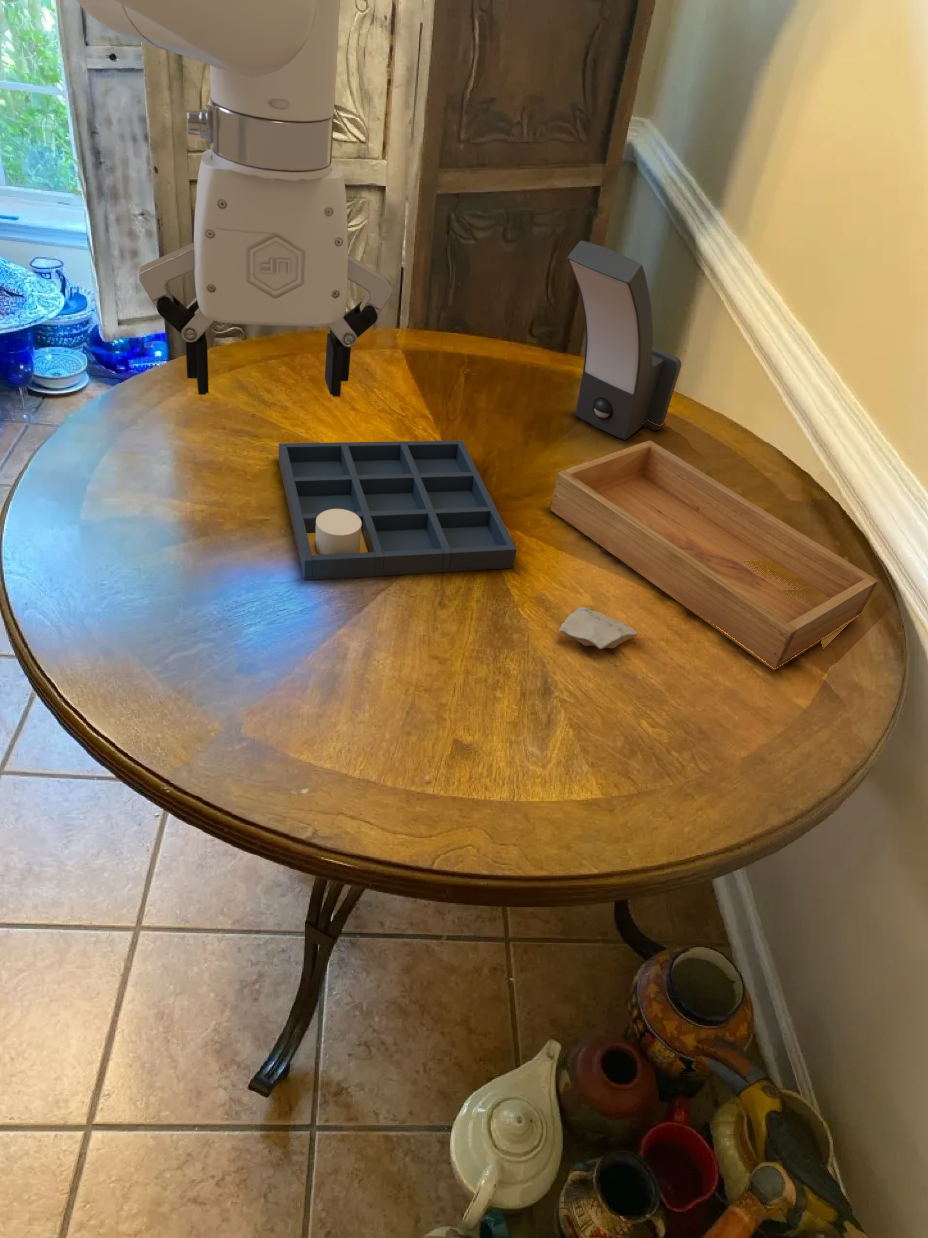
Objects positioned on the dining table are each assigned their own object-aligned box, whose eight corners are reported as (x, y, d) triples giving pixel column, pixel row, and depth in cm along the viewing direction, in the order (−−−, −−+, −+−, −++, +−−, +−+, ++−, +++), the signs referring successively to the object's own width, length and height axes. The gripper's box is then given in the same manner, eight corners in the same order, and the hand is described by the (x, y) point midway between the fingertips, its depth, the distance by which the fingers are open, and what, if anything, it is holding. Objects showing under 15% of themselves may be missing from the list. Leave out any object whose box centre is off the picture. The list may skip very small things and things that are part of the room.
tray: (548, 511, 102) (558, 468, 98) (638, 478, 110) (651, 436, 107) (769, 677, 86) (791, 633, 82) (855, 623, 94) (879, 580, 90)
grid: (304, 580, 87) (304, 560, 86) (278, 461, 102) (278, 443, 101) (513, 568, 93) (517, 549, 92) (459, 457, 108) (462, 439, 107)
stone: (581, 610, 90) (547, 639, 86) (586, 592, 88) (552, 620, 84) (636, 641, 87) (605, 671, 83) (642, 622, 86) (610, 652, 82)
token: (318, 564, 88) (319, 535, 86) (311, 537, 92) (312, 509, 89) (363, 562, 90) (365, 533, 88) (355, 535, 93) (357, 507, 91)
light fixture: (519, 435, 114) (558, 237, 99) (596, 396, 125) (642, 213, 110) (590, 472, 110) (643, 271, 94) (663, 429, 121) (721, 242, 105)
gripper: (128, 141, 53) (148, 410, 64) (418, 168, 58) (391, 412, 69) (127, 109, 58) (146, 362, 69) (393, 136, 63) (371, 367, 74)
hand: (268, 387), depth 69 cm, fingers open, 9 cm apart
